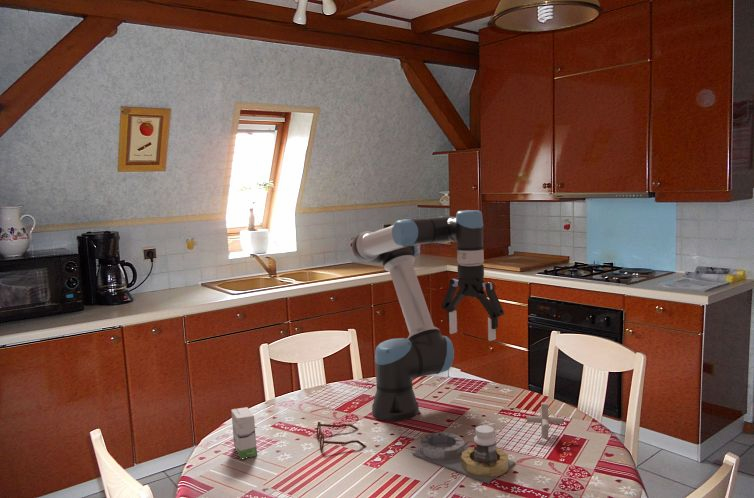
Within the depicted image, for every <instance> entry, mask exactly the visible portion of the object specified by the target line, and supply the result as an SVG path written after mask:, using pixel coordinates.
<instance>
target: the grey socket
mask: <svg viewBox="0 0 754 498" xmlns="http://www.w3.org/2000/svg"><path fill="white" fill-rule="evenodd" d="M436 444H448V445H451V447H447V448H436V447H433V446H432V445H436ZM464 445H465V440H464V439H463V438H462V437H461V436H460V435H458V434H455V433H451V432H441V431H440V432H439V431H438V432H437V431H436V432H432V433H427V434H426V435H423V436H421V438H420V440H419V450H420V452H421V453H422V455H423V456H425V457H427V458H430V459H433V460H444V461H445V460H451V459H456V458H458V457H459V456H461V455H462V452H463V451H464Z"/></svg>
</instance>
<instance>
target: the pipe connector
mask: <svg viewBox="0 0 754 498" xmlns="http://www.w3.org/2000/svg"><path fill="white" fill-rule="evenodd" d="M540 406H541V407H540V408H541V410H540V413H539V415H540V416H539V415H538V416H537V415H535V416H533V415H532V416H531V415H526V423H530V424H531V423H532V424H541V438H542V439H548V438H549V430H550V424H556V425H564V417H560V416H557V417H556V416H549V403H548V402H547V401H543V402H541V405H540Z"/></svg>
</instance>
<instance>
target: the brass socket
mask: <svg viewBox="0 0 754 498" xmlns="http://www.w3.org/2000/svg"><path fill="white" fill-rule="evenodd" d="M470 447H471V448H468V449H467V450H465V451H463V452H462V456H461V467H462V468H463V469H464V470H465V471H466V472H467V473H470V474H473V475H475V476H482V477H493V476H497V477H500V476H502V475H503V474H505V473H506V472H508V471H509V469H508V460H509V454H507V453H506V451H504V450H503V449H500V448H497V447H496V449H497V462H494V463H489V464H486V463H478V462H475V461H473V460H474V446H473V447H472V446H470Z"/></svg>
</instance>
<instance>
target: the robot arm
mask: <svg viewBox="0 0 754 498" xmlns="http://www.w3.org/2000/svg"><path fill="white" fill-rule="evenodd" d="M483 220H484V219H483V213H482V211H481V210H477V209H475V210H473V209H471V210H470V209H465V210H458V211H457V212H456V215H455V216H450V215H442V216H438V217H437V216H436V217H426V218H405V219H400V220H399V219H398V220H396V221H394V222H393V225H391V226H388V227H384V228H381V229H377V230H367V231H362V232H359V234H357V235H356V236H355V237H354V238H353V241H352V242H351V243H352V244H351V250H352V253H353V255H354V256H355V258H356V259H358V260H359V261H361V262H363V263H367V264H380V263H382V265H383V268H384V269H383V270H385V271H386V272H389V274H390V278H391V281H392V283H393V286H394V289H395V292H396V297H397V299H398V302H399V306H400V308H401V310H402V311H401V312H402V315H403V318H404V319H405V320H404V321H405V324H406V327H407V330H408V333H409V335H408V337H407V338H405V337H399V338H390V339H387V340H384V341H382V342H380V343H379V344H378V345H377V346H376V347H375V351H374V355H375V357H374V363H375V379H376V392H375V394H374V399H373V403H372V405H371V412H372V413H371V414H372V416H373V417H374V418H376V419H378V420H381V421H385V422H387V421H388V422H400V421H402V422H403V421H408V420H411V419H413V418H416V417H417V415H419V413H420V410H419V403H418V401H417V399H416V395H415V392H414V391H415V390H414V389H413V379H417V378H421V377H422V378H423V377H425V376H432V375H439V374H440V373H444V372H447V371H449V370H450V369H451V367H452V365H453V363H454V359H455V349H454V345H453V342H452V340H451V339H450V338H449V337H448V336H446V335H442V332H441V330H440V328H438V327H436V326H435V325H434V323H433V320H432V317H431V313H430V311H429V309H428V306H427V302H426V299H425V296H424V293H423V290H422V288H421V284H420V281H419V279H418V276H417V273H416V270H415V267H414V263H415V261H416V256H417V254H418V245H425V244H436V243H438V244H439V243H446V242H447V243H448V242H451V243H452V242H454V243H456V253H457V254H456V255H457V256H456V258H457V260H456V261H457V264H458V265H457V277H458V278H451V279H449V284H448V289H447V291H446V293H445V296H444V298H443V300H442V304H441V309H444V310H445V311H446V315H447V316H446V317H447V322H448V323H449V324H448V325H449V326H448V327H449V334H450V335H452V334H456V333H458V321H457V320H458V319H457V318H458V317H457V316H458V315H457V310H456V308H457V307H458V305H459V304H460V303H461V301H462V300H463V298H464V297H472V298H476V299H477V300H478V301H479V302H480V304H481V305H482V306H483V308H484V310H485V311H486V312H487V314H488V315H489V317H487V335H488V341H489V342H492V341H494V340H497V333H496V332H497V331H496V330H497V329H498V328H499V317H501V316H504V315H505V312H504V309H503V307H502V304H501V302H500V300H499V297H498V295H497V293H496V290H495V286H494V282H493V281H490V282H489V281H488V282H485V281H484V277H485V266H484V262H485V258H484V257H485V255H484V221H483ZM457 287H459V289H458V290H457ZM456 291H457V293H456ZM455 293H456V295H455Z"/></svg>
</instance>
